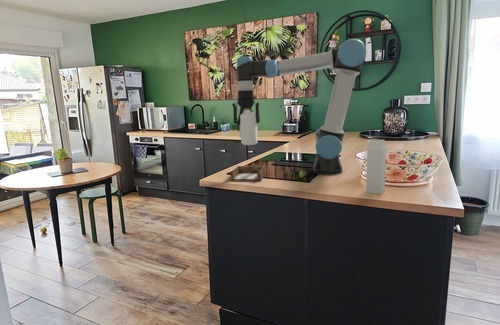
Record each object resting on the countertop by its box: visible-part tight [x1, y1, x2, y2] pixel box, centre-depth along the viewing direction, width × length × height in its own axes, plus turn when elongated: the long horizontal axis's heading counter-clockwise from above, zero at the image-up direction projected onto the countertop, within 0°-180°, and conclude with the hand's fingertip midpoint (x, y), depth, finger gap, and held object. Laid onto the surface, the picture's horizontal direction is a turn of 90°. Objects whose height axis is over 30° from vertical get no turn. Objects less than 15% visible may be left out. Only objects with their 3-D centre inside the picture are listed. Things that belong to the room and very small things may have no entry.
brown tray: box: [230, 165, 266, 183], centre depth 163 cm, size 15×14×4 cm
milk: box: [365, 138, 387, 195], centre depth 130 cm, size 6×6×22 cm
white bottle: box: [240, 107, 258, 146], centre depth 158 cm, size 8×8×18 cm
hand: (247, 137), depth 159 cm, fingers open, 5 cm apart
